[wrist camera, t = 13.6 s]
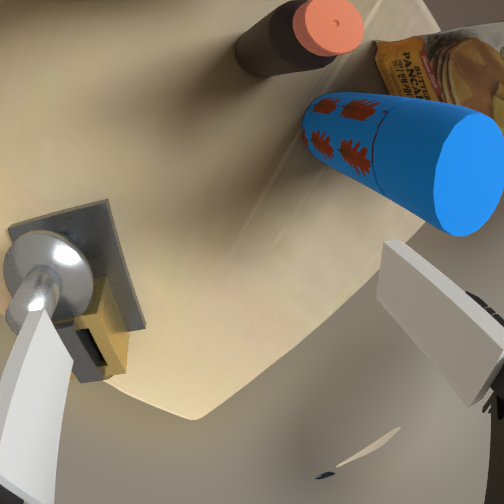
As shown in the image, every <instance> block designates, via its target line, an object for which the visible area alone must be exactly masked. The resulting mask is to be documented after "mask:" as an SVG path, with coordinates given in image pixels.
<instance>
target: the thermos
mask: <svg viewBox="0 0 504 504" xmlns="http://www.w3.org/2000/svg"><path fill="white" fill-rule="evenodd" d="M302 135H303V139H304V141H305V144H306V146H307V149H308V150H309V151H310V152H311V153H312V154H313V155H314V157H316V158H317V159H319V160H320V161H322V162H323V163H325V164H327V165H328V166H330V167H332V168H334V169H336V170H338V171H340V172H341V173H343V174H345V175H347V176H349V177H351V178H353V179H355V180H356V181H358V182H360V183H362V184H364V185H366V186H367V187H369V188H371V189H373V190H375V191H376V192H378V193H380V194H382V195H383V196H385V197H387V198H388V199H390V200H392V201H394V202H395V203H397V204H399V205H400V206H402V207H404V208H405V209H407V210H409V211H410V212H412V213H414V214H415V215H417V216H418V217H420V218H422V219H423V220H425V221H426V222H428V223H430V224H431V225H433V226H434V227H436V228H437V229H439V230H441V231H443V232H446V233H448V234H450V235H452V236H467V235H469V234H471V233H473V232H475V231H477V230H478V229H479V228H480V227H481V226H482V225H483V224H484V223H485V222H486V221H487V220H488V219H489V218H490V216H491V214H492V213H493V211H494V210H495V208H496V206H497V204H498V202H499V200H500V197H501V194H502V191H503V188H504V138H503V135H502V132H501V130H500V129H499V127H498V126H497V124H496V123H495V121H494V120H493V119H492V118H490V117H488V116H486V115H484V114H482V113H480V112H478V111H475V110H472V109H470V108H467V107H464V106H459V105H454V104H448V103H443V102H437V101H431V100H424V99H417V98H410V97H402V96H393V95H384V94H373V93H360V92H336V93H330V94H324V95H322V96H320V97H319V98H317V99H316V100H314V101H313V102H312V103H311V105H310V106H309V107H308V109H307V110H306V112H305V115H304V119H303V122H302Z"/></svg>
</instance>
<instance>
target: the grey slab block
mask: <svg viewBox="0 0 504 504" xmlns="http://www.w3.org/2000/svg"><path fill="white" fill-rule="evenodd" d="M52 324H53V326H54V328H55V329H56V331H57V333H58V335H59V337H60V339H61V340H62V342H63V344H64V346H65V347H66V349H67V351H68V353H69V354H70V356H71V358H72V359H73V365H72V370H71V371H72V372H73V373H74V375H75V376H76V378H77V379H78V381H79V382H80V383H86V382H94V381H101V380H105V371H104V369H103V367H102V366H101V364H100V363H99V361H98V358H99V352H100V350H99V348H98V346H97V344H96V342H95V340H94V338H93V336H92V334H91V332H90V330H89V328H86V329H80V328H79V326H78V324H77V322H76V320H75V319H70V320H65V321H60V322H55V323H52Z"/></svg>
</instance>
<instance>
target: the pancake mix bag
mask: <svg viewBox="0 0 504 504" xmlns="http://www.w3.org/2000/svg"><path fill="white" fill-rule="evenodd" d="M375 42H376V46H377V49H378V50H377V52H376V55H375V57H374V58H375V62H376V65H377V68H378V70H379V72H380V74H381V77H382V79H383V81H384V83H385V86H386V88H387V90H388V92H389V94H390V95H393V96H402V97H410V98H417V99H424V100H431V101H437V102H443V103H448V104H454V105H459V106H464V107H467V108H470V109H472V110H475V111H478V112H480V113H482V114H484V115H486V116H488V117H490V118H492V119H493V120H494V121H495V123H496V124H497V126H498V127H499V129H500V130H501V132H502V135H503V138H504V20H500V21H496V22H492V23H487V24H477V25H476V24H475V25H467V26H461V27H456V28H451V29H448V30H445V31H441V32H438V33H435V34H428V35H420V36H412V37H410V38H407V39H404V40H400V41H393V42H386V41H381V40H375Z"/></svg>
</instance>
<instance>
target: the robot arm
mask: <svg viewBox="0 0 504 504" xmlns="http://www.w3.org/2000/svg"><path fill="white" fill-rule="evenodd" d="M376 299H377V300H378V301H379V302H380V303H381V305H382V306H383V307H384V308H385V309H386V310H387V311H388V312H389V314H390V315H391V316H392V317H393V318H394V319H395V320H396V321H397V323H398V324H399V325H400V326H401V327H402V328H403V329H404V331H405V332H406V333H407V334H408V335H409V336H410V338H411V339H412V340H413V341H414V342H415V343H416V345H417V346H418V347H419V348H420V349H421V351H422V352H423V353H424V354H425V355H426V356H427V357H428V359H429V360H430V361H431V362H432V364H433V365H434V366H435V367H436V369H437V370H438V371H439V372H440V373H441V374H442V376H443V377H444V378H445V379H446V381H447V382H448V383H449V385H450V386H451V387H452V388H453V390H454V391H455V392H456V393H457V394H458V396H459V397H460V398H461V400H462V401H463V402H464V403H465V405H466V406H467V407H468V408H469V407H471V406H472V405H474V404H475V403H477V402H478V401H480V400H481V399H482V398H483V397H484V395H485V394H486V392H487V391H488V389H489V388H490V387H491V388H492V389H493V391H494V392H493V393H492V395H491V396H490V398H489V399H488V401H487V402H486V404H485V405H484V406H483V410H482V412H483V413H484V412H485V411H486V410H487V408H488V407H489V406H490V404H491V408H490V409H489V412H488V413H491V441H490V460H489V471H488V480H487V488H486V495H485V502H484V504H504V319H503V318H501V317H500V316H499V315H498V314H496V312H495V311H494V310H493V309H491V308H489V307H488V305H487V304H486V303H485V302H484V301H482V300H481V299H480V298H479V297H477V296H475V295H473V294H471V293H469V292H467V291H466V292H464V291H463V290H462V289H460V288H459V287H458V286H457V285H456V284H454V283H453V282H452V281H451V280H450V279H449V278H447V277H446V276H445V275H444V274H442V273H441V272H440V271H439V270H438V269H436V268H435V267H434V266H433V265H431V264H430V263H429V262H427V261H426V260H425V259H424V258H423V257H421V256H420V255H419V254H418V253H416V252H415V251H414V250H412V249H411V248H410V247H408V246H407V245H406V244H405V243H403V242H402V241H401V240H399V239H395V240H390V241H386V242H383V250H382V258H381V266H380V273H379V279H378V286H377V292H376ZM72 365H73V359H72V358H71V356H70V354H69V353H68V351H67V349H66V347H65V346H64V344H63V342H62V340H61V339H60V337H59V335H58V333H57V331H56V329H55V328H54V326H53V324H52V322H51V320H50V318H49V316H48V314H47V312H46V310H45V309H40V310H34V311H29V313H28V315H27V317H26V319H25V321H24V323H23V326H22V328H21V330H20V332H19V335H18V337H17V339H16V342H15V344H14V346H13V349H12V351H11V354H10V356H9V359H8V361H7V364H6V367H5V369H4V371H3V374H2V377H1V380H0V504H23V503H24V501H25V502H27V503H29V504H54V494H55V477H56V465H57V456H58V447H59V439H60V431H61V425H62V418H63V412H64V406H65V400H66V395H67V389H68V384H69V379H70V375H71V370H72Z"/></svg>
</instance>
